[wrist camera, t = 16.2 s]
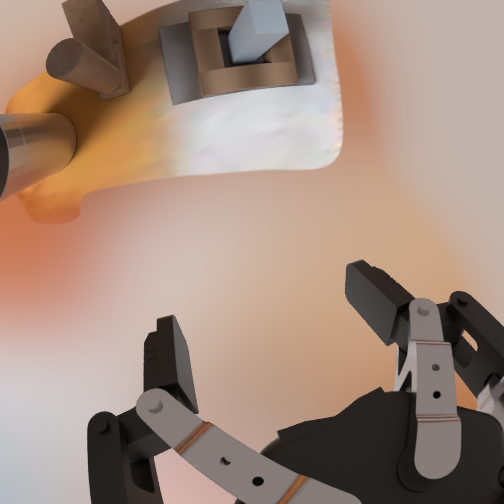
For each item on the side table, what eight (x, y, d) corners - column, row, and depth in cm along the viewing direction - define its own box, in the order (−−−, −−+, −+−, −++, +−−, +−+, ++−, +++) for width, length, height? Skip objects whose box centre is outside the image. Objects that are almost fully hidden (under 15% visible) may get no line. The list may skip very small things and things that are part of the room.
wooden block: (122, 28, 24) (82, -28, 8) (131, 92, 29) (86, 68, 14) (98, 37, 24) (45, -10, 8) (106, 101, 29) (46, 87, 13)
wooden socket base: (173, 105, 31) (171, 102, 28) (159, 30, 26) (156, 19, 22) (311, 84, 34) (325, 81, 30) (297, 16, 28) (310, 6, 24)
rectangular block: (231, 65, 30) (256, 33, 18) (225, 40, 28) (248, -1, 16) (253, 62, 30) (289, 32, 18) (247, 37, 28) (280, -2, 16)
